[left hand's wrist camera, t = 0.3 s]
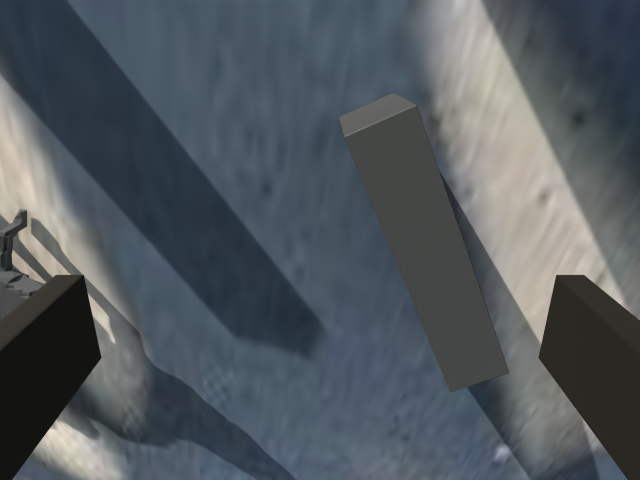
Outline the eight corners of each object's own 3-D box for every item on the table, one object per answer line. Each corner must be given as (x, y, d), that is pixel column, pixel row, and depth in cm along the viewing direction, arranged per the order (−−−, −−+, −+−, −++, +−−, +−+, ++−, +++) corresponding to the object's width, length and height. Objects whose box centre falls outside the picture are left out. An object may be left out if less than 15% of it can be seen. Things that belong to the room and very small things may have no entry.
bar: (338, 117, 36) (343, 136, 27) (393, 92, 35) (416, 104, 27) (425, 327, 43) (450, 392, 35) (472, 310, 42) (509, 373, 34)
